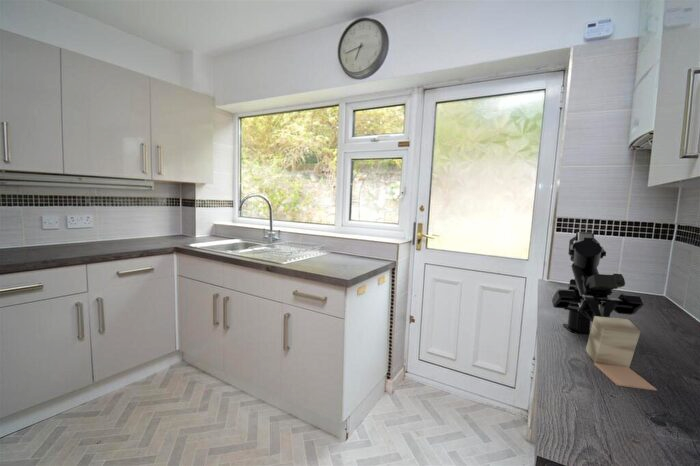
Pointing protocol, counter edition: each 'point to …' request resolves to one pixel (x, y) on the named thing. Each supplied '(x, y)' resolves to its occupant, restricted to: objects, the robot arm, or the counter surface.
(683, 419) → the counter surface
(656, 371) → the counter surface
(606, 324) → the birch block
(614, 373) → the pad
